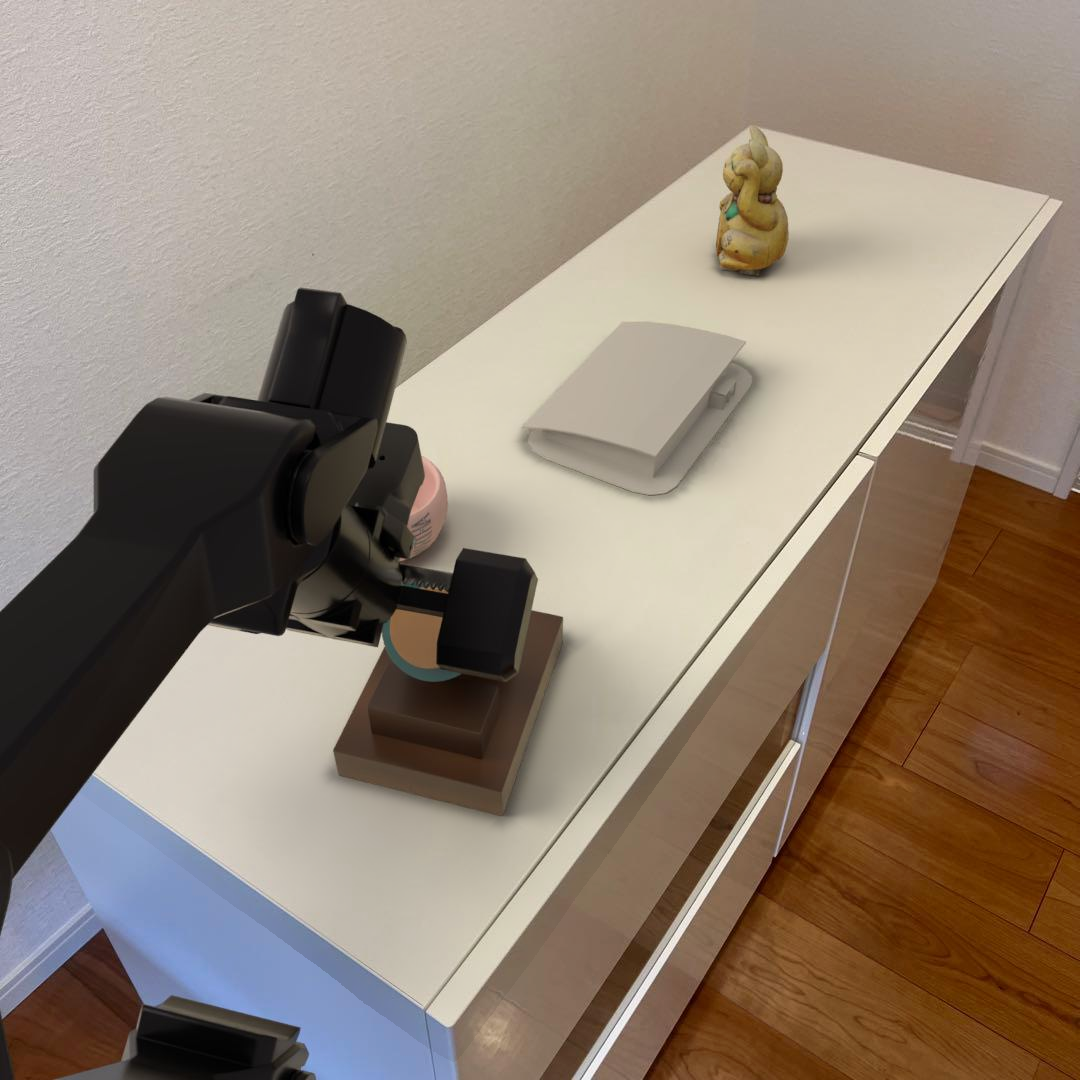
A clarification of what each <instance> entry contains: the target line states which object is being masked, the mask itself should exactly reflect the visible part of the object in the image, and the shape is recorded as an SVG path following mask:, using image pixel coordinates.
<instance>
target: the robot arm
mask: <svg viewBox="0 0 1080 1080" xmlns="http://www.w3.org/2000/svg"><path fill="white" fill-rule="evenodd" d="M407 344H408V339H407V335H406V334H405V331H404V330H403V329H402V328H400V327H399V326H394V325H393V324H391V323H389V322H388V321H387V320H385V319H383V318H382V317H381V316H378V315H376V314H374V313H373V312H370V311H368V310H366V309H363V308H361V307H357V306H355V305H352V304H349V303H348V302H347V300H346V299H345V297H344V295H343V293H342V292H338V291H330V290H322V289H315V288H308V287H298V289H297V290H296V293H295V297H294V300H293V301H292V302H290V303H287V305H286V306H285V308H284V309H283V312H282V315H281V318H280V322H279V325H278V329H277V332H276V335H275V338H274V342H273V345H272V349H271V352H270V356H269V359H268V363H267V365H266V366H267V367H266V369H265V373H264V376H263V379H262V383H261V385H260V390H259V393H258V396H257V399H251V398H245V397H244V398H243V397H237V396H232V395H221V394H215V393H208V392H204V393H201V394H199V395H197V396H194V397H192V398H190V399H183V398H177V397H169V396H161V397H156V398H155V399H152V400H151V401H149V402H147V403H146V404H145V405H143V407H142V408H141V409H140V410H139V411H138V412H137V413H136V414H135V415H134V416H133V418H132V419H131V420H130V421H129V422H128V424H127V425H126V427H125V428H124V429H123V430H122V432H121V433H120V434H119V435H118V437H117V438H116V439H115V440H114V442H113V443H112V444H111V446H110V447H109V448H108V449H107V450H106V452H105V453H104V455H102V456H101V458H100V459H99V461H98V462H97V463H96V464H95V466H94V468H93V512H92V515H91V516H90V517H89V519H88V520H87V521H86V522H85V523H84V525H83V526H82V527H81V529H80V531H79V532H78V533H77V534H76V535H75V537H74V538H73V539H72V540H71V541H70V542H69V543H67V545H66V546H65V547H63V549H62V550H61V551H60V552H58V554H56V556H55V557H54V558H53V559H51V560H50V562H49V563H47V565H46V566H45V567H44V568H43V569H42V570H41V571H40V572H38V573H37V574H36V576H34V577H33V579H31V580H30V582H29V583H27V585H25V587H23V588H22V589H21V590H20V591H19V592H18V593H17V594H16V595H15V596H14V597H13V598H12V599H11V600H10V601H9V602H8V603H7V604H6V605H5V606H4V607H3V608H2V609H1V610H0V937H1V935H2V932H3V927H4V924H5V921H6V916H7V912H8V907H9V904H10V900H11V894H12V886H13V880H14V878H15V877H16V876H17V875H18V873H19V872H20V870H21V869H22V868H23V867H24V865H25V864H26V862H27V861H28V860H29V859H30V857H31V856H32V855H33V853H34V852H35V850H36V849H37V848H38V847H39V845H40V844H41V843H42V841H43V840H44V839H45V838H46V836H47V835H48V834H49V832H50V831H51V830H52V829H53V828H54V825H55V824H56V823H57V822H58V820H59V819H60V817H61V816H62V815H63V813H64V812H65V811H66V810H67V808H68V807H69V806H70V804H71V803H72V802H73V801H74V799H75V798H76V797H77V795H78V794H79V793H80V791H81V790H82V788H84V786H85V785H86V783H87V782H88V781H89V779H90V778H91V777H92V775H93V774H94V773H95V772H96V771H97V769H98V767H100V765H101V764H102V762H103V761H104V760H105V758H106V757H107V755H109V753H110V751H111V750H112V749H113V748H114V747H115V745H116V744H117V742H118V741H119V740H120V738H121V737H123V735H124V733H126V730H128V728H129V726H130V725H131V724H132V723H133V721H134V720H135V719H136V717H137V716H138V715H139V713H140V712H141V711H142V710H143V708H144V707H145V706H146V704H147V703H148V702H149V700H150V699H151V698H152V697H153V695H154V694H155V692H156V691H157V689H159V687H160V686H161V684H162V683H163V682H164V681H165V679H166V678H167V677H168V675H169V674H170V672H171V671H172V670H173V669H174V667H175V666H176V665H177V663H178V662H179V661H180V659H181V658H182V657H183V655H184V654H185V653H186V652H187V650H188V649H189V648H190V647H191V645H192V643H193V642H195V640H196V638H197V637H198V635H200V634H201V632H202V631H204V629H205V628H206V627H208V626H209V627H215V628H220V629H224V630H231V631H237V632H243V633H249V634H252V635H261V634H264V635H270V636H275V637H281V636H283V635H284V634H285V633H286V630H287V631H289V632H294V633H300V634H304V635H309V636H315V637H321V638H325V639H331V640H336V641H342V642H346V643H352V644H357V645H363V646H369V647H373V648H379V645H380V641H381V637H382V629H383V625H384V624H385V623H387V622H388V620H389V619H390V618H391V617H392V615H393V614H394V612H395V610H396V609H399V610H405V611H410V612H416V613H421V614H427V615H432V616H438V617H443V618H442V622H441V627H440V631H439V635H438V639H437V651H436V664H437V665H438V666H439V667H440V669H442V670H447V671H453V672H457V673H461V674H466V675H472V676H477V677H482V678H488V679H493V680H498V681H503V682H506V681H508V680H509V679H511V678H512V677H514V676H515V675H516V674H518V672H519V667H520V663H521V658H522V653H523V648H524V644H525V639H526V634H527V629H528V625H529V620H530V615H531V610H533V606H534V602H535V595H536V591H537V586H538V582H539V578H538V576H537V574H536V572H535V570H534V569H533V567H532V566H531V565H530V562H528V560H527V558H526V557H519V556H514V555H509V554H503V553H496V552H490V551H485V550H478V549H473V548H467V547H463V548H462V549H461V551H460V552H459V554H458V556H457V557H456V558H455V562H454V566H453V571H452V572H450V571H449V572H448V571H444V570H437V569H433V568H426V567H421V566H414V565H410V564H409V565H408V564H404V563H403V564H402V563H400V561H399V560H400V558H403V559H407V560H410V559H411V558H410V554H411V550H412V546H413V541H414V537H415V536H414V535H413V534H412V533H411V531H410V530H409V529H408V527H407V525H408V521H409V517H410V513H411V509H412V507H413V504H414V501H415V499H416V496H417V494H418V491H419V488H420V486H421V485H422V484H423V481H424V478H425V472H424V467H423V462H422V456H423V455H422V452H421V445H420V441H419V436H418V433H417V432H416V430H415V429H414V428H413V427H411V426H409V425H406V424H401V423H395V422H388V418H389V415H390V410H391V406H392V402H393V398H394V394H395V391H396V387H397V383H398V379H399V375H400V372H401V368H402V364H403V360H404V359H403V358H404V356H405V353H406V348H407ZM408 580H409V585H410V586H413V585H414V583H415V582H416V586H417V587H419V588H420V586H421V585H422V583H423V586H424V588H425V589H427V588H428V586H429V585H431V589H432V590H435V588H436V586H437V585H438V590H439V591H442V590H443V588H444V587H445V591H446V592H447V593H448V594H447V593H442V592H436V591H430V590H425V589H419V588H413V587H408V586H403V585H406V583H407V582H408ZM301 1029H302V1028H301V1027H300V1026H297V1025H293V1024H290V1023H289V1024H288V1023H284V1022H280V1021H276V1020H273V1019H269V1018H265V1017H260V1016H257V1015H253V1014H248V1013H245V1012H240V1011H236V1010H234V1009H233V1010H232V1009H229V1008H225V1007H221V1006H217V1005H213V1004H209V1003H205V1002H201V1001H197V1000H193V999H190V998H189V999H188V998H187V997H186V998H185V997H181V996H177V995H173V994H171V995H169V996H168V997H167V999H165V1000H164V1001H163V1002H161V1003H159V1004H157V1005H150V1004H147V1003H141V1006H140V1009H139V1014H138V1019H137V1023H136V1026H135V1028H134V1029H132V1030H131V1031H130V1032H129V1033H128V1036H127V1039H126V1043H125V1047H124V1050H123V1053H122V1057H121V1059H120V1060H119V1061H118V1062H114V1063H110V1064H107V1065H102V1066H99V1067H96V1068H92V1069H88V1070H84V1071H80V1072H77V1073H73V1074H69V1075H66V1076H62V1077H57V1078H54V1079H53V1080H317V1076H316V1074H315V1073H314V1072H311V1071H308V1070H303V1069H302V1067H305V1066H306V1064H307V1061H308V1059H309V1056H310V1052H309V1050H308V1048H307V1046H306V1043H304V1042H301V1041H298V1038H299V1036H300V1033H301ZM0 1080H16V1077H15V1072H14V1067H13V1062H12V1058H11V1054H10V1048H9V1044H8V1039H7V1035H6V1030H5V1026H4V1021H3V1016H2V1012H1V1010H0Z"/></svg>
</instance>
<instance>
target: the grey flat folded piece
mask: <svg viewBox="0 0 1080 1080" xmlns="http://www.w3.org/2000/svg"><path fill="white" fill-rule="evenodd" d="M746 344H747V341H746V340H743V339H741V338H736V337H733V336H730V335H727V334H724V333H723V334H722V333H718V332H714V331H709V330H705V329H700V328H695V327H691V326H686V325H685V326H684V325H679V324H674V323H666V322H665V323H664V322H655V321H621V322H620V323H619V324H618V326H617V327H616V328H614V329H613V331H612V332H611V333H610V334H608V336H607V337H606V338H604V339H603V341H602V342H601V343H600V344H599V345H598V346H597V347H596V348H595V349H594V350H593V352H592V353H590V355H589V356H588V357H587V358H586V359H585V360H584V361H583V362H582V363H580V365H579V366H578V367H577V368H576V369H575V370H574V371H573V373H571V375H570V376H568V377H567V379H566V380H564V382H563V383H562V384H561V385H560V386H559V387H558V388H557V389H556V390H555V391H554V392H553V393H552V394H551V395H550V396H549V397H548V398H547V399H546V400H545V401H544V403H543V404H542V405H541V406H539V408H537V410H536V411H535V412H534V413H533V414H532V415H531V416H530V417H529V418H528V419H527V420H526V421H525V423H523V424H522V426H521V429H527V430H528V429H530V430H531V432H530V433H529V436H528V439H527V442H526V443H527V444H528V446H529V448H530V449H531V451H532V452H533V453H534V454H536V455H538V456H539V457H541V458H543V459H544V460H547V461H549V462H552V463H555V464H558V465H561V466H563V467H566V468H567V469H571V470H574V471H577V472H579V473H581V474H584V475H586V476H590V477H592V478H595V479H598V480H599V481H602V482H606V483H608V484H611V485H613V486H616V487H619V488H621V489H624V490H627V491H629V492H632V493H636V494H641V495H646V496H655V495H665V494H667V493H669V492H670V491H672V490H674V489H675V488H676V487H678V485H679V483H680V482H681V481H682V480H683V478H684V477H685V476H686V474H687V473H688V472H689V470H690V469H691V468H692V466H693V465H694V464H695V462H696V461H697V460H698V458H699V457H700V456H701V454H702V453H703V451H704V450H705V449H706V448H707V446H708V444H709V443H710V442H711V441H712V439H713V438H714V437H715V435H716V434H717V433H718V431H719V430H720V429H721V428H722V426H723V424H724V423H725V422H726V421H727V419H728V418H729V416H730V415H731V414H732V412H733V411H734V410H735V408H737V406H738V404H739V403H740V401H742V399H743V398H744V396H745V395H746V394H747V393H748V391H749V390H750V388H751V387H752V384H753V375H752V374H751V373H750V372H749V371H748V370H747V369H746V368H745V367H742V366H740V365H738V364H736V363H734V362H732V361H733V360H734V359H735V357H736V356H737V355H738V354H739V352H740V351H741V350H742V349H743V347H744V346H745V345H746Z"/></svg>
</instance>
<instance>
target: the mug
mask: <svg viewBox="0 0 1080 1080" xmlns="http://www.w3.org/2000/svg"><path fill="white" fill-rule="evenodd" d="M421 456H422V462H423V467H424V472H425V478H424V481H423V484H422V485H421V486H420V488H419V491H418V494H417V496H416V499H415V501H414V504H413V507H412V509H411V513H410V517H409V521H408V525H407V527H408V529H409V530H410V531H411V533H412V534H413V535H414V536H415V537H414V541H413V546H412V550H411V554H410V558H409V559H412V558H414V557H417V556H418V555H420V554H423V552H424V551H426V550H427V549H428V548H430V546H432V544H433V543H434V542H435V540H436V539H437V538H438V536H439V534H440V532H441V530H442V528H443V526H444V524H445V522H446V520H447V519H446V518H447V512H448V507H449V498H448V492H447V485H446V481H445V479H444V476H443V474H442V472H441V470H440V469H439V468H438V467H437V466H436V465H435V464H434V463H433V461H431V460H430V459H428V458H427V457H425V456H423V455H421ZM406 560H408V559H403V558H400V560H399V562H403V561H406Z"/></svg>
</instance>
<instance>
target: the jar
mask: <svg viewBox="0 0 1080 1080" xmlns="http://www.w3.org/2000/svg"><path fill="white" fill-rule="evenodd" d="M403 586H408V587H413V588H419V587H417V586H416V582H415V583H414V585H413V586H410V585H409V580H408V582H407V583H406V585H403ZM419 589H425V588H424V586H423V583H422V585H421V586H420V588H419ZM425 590H430V591H436V592H442V593H447V592H446V591H445V587H444V588H443V590H442V591H439V590H438V585H437V586H436V588H435V590H432V589H431V585H429V586H428V588H427V589H425ZM447 594H448V593H447ZM442 618H443V617H438V616H432V615H427V614H421V613H416V612H410V611H405V610H399V609H396V610H395V612H394V614H393V615H392V617H391V618H390V619H389V620H388V622H387V623H385V624H384V625H383V629H382V633H381V637H382V641H383V645H384V647H385V648H386V651H387V652H388V654H389V656H390V658H391V659H392V660H393V662H394V663H395V664H396V665H397V666H398V667H399V668H400V669H401V670H402V671H403V672H405V673H406V674H408V675H410V676H412V677H414V678H416V679H419V680H423V681H429V682H439V681H445V680H449V679H452V678H455V677H458V676H461V675H464V674H461V673H457V672H453V671H447V670H442V669H440V667H439V666H438V665H437V664H436V651H437V639H438V635H439V631H440V627H441V622H442Z"/></svg>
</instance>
